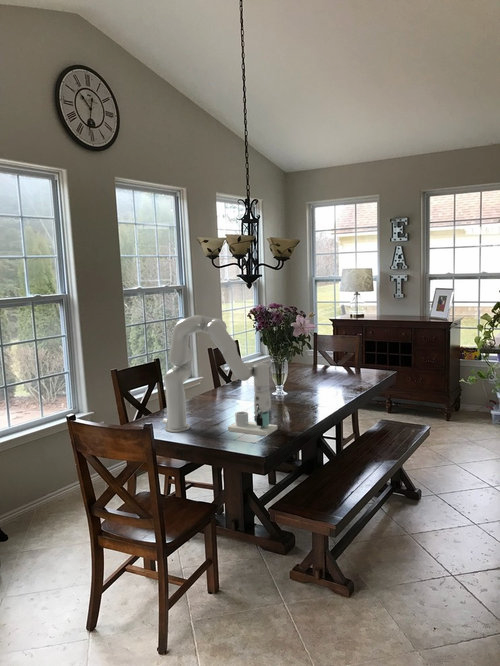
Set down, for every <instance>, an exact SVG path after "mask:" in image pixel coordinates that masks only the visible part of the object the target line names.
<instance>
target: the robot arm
mask: <svg viewBox="0 0 500 666" xmlns="http://www.w3.org/2000/svg"><path fill="white" fill-rule="evenodd" d="M200 332H201V333H205V334H207V335H208V337H209V338H210V339H211V340H212V342H213V344H215V346H216V347H217V348H218V350H219V351H220V352H221V355H222V356H223V359H224V361H225V363H226V364H227V367H228V368H229V370H230V371H231V372H232V373H233V375H234V376H235V377H236V378H237V380H240V381H243V382H244V381H245V382H246V381H248V380H249V379H250V378H252V377H253V388H254V389H253V390H254V396H253V397H254V398H253V399H254V401H253V407H254V412H253V413H254V416H256V423H257V426H263V418H262V413H264V412H266V411H267V412H269V413H270V410H271V409H272V399H271V397H272V396H271V392H270V367H269V364H268V363H265V362H260V363H255V362H249V361H248V362H247V361H246V362H244V361H243V360H242V358H241V356H240V355H239V351H238V345H237V343H236V341H235V339H233V338H232V336H231V335H230V334H229V332H228V331H227V324H226V322H225V321H224V320H222V319H220V318H216V317H211V316H206V315H200V314H195V315H191V316H189V317H185V318H183V319H181V320H179V321H177V323H176V324H175V325H174V327H173V331H172V335H171V336H172V338H171V343H170V349H169V355H168V360H169V363H170V365H172V368H170V369H168V370H167V372H165V375H164V378H163V383H164V388H165V396H166V398H165V399H166V413H167V414H166V415H167V418H163V420H162V421H161V423H162V424H165V425H166V426H165V427H164V430H165V431H166V432H170V433H180V432H185V431H187V430H189V429H190V426H191V425H190V424H189V423H188V422H187V411H186V410H187V408H186V407H187V406H186V393H185V388H184V384H185V383H186V382H187V380H188V379H189V378H190V374H191V368H192V362H193V352H192V350H191V348H190V347H189V342H190V341H189V340H190V339H189V337H190V335H193V334H197V333H200ZM258 411H260V412H258ZM258 413H260V414H258Z"/></svg>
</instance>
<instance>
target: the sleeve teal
mask: <svg viewBox="0 0 500 666" xmlns="http://www.w3.org/2000/svg"><path fill="white" fill-rule="evenodd" d="M258 412H260V411H258ZM258 414H260V413H258ZM262 418H263V426H268V425H269V424H270V411H269V412H267V411H266V412H264V413H262ZM256 425H257V423H256Z"/></svg>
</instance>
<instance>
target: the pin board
mask: <svg viewBox="0 0 500 666" xmlns="http://www.w3.org/2000/svg"><path fill="white" fill-rule="evenodd" d="M277 430H278V425H277V424H271V423H269V425H268V426H257V425H256V422H255V421H248V425H247V426H242V427H240V426H236V422H234V423H232V424H230V425H228V426H227V432H233V433H234V432H235V433H242V434H251V435H256V436H264V437H267V436H269V435H270V434H272V433H274V432H275V431H277Z"/></svg>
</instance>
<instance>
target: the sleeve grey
mask: <svg viewBox="0 0 500 666" xmlns="http://www.w3.org/2000/svg"><path fill="white" fill-rule="evenodd" d="M234 415H235V416H234V417H235V423H236V426H240V427H242V426H247V425H248V422H249V413H248V412H247V411H237V412H235V413H234Z"/></svg>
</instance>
